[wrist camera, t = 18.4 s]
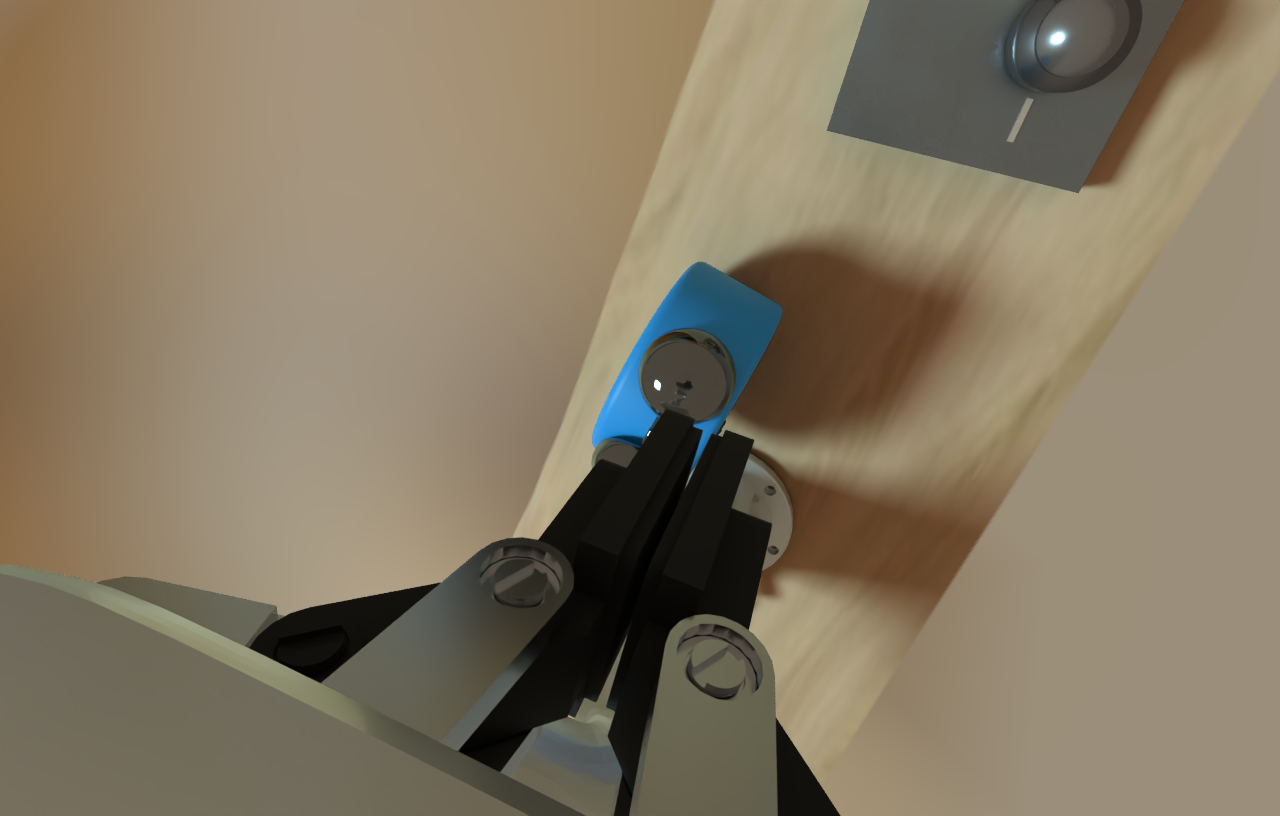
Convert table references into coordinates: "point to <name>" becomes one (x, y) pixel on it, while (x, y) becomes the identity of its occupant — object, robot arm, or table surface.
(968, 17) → the control panel
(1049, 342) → the table surface
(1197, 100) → the table surface
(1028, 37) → the knob
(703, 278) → the alarm clock
